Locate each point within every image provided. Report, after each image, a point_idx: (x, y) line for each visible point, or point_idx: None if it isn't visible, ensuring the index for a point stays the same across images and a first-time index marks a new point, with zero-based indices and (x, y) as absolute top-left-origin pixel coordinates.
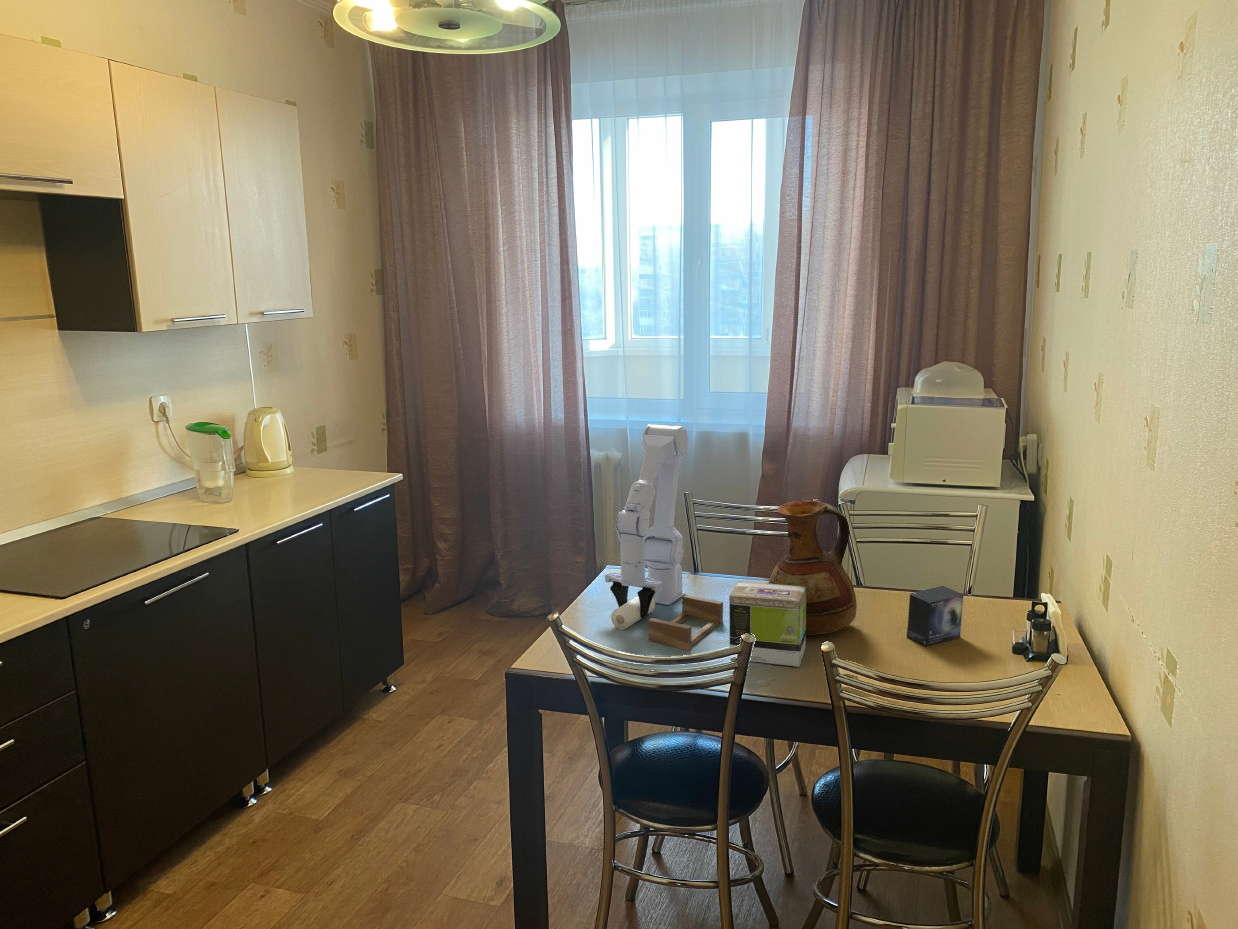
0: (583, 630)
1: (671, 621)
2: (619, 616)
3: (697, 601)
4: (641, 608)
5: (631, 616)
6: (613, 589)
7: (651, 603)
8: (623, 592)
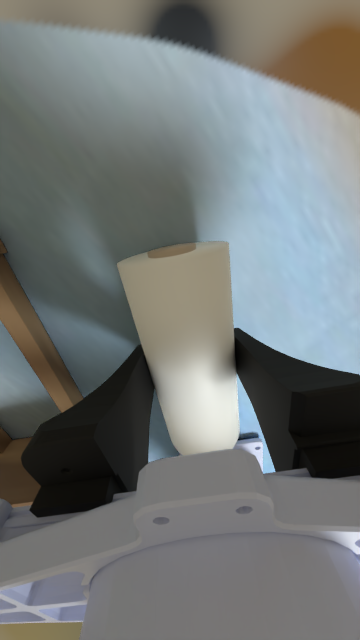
0: (313, 107)
1: (56, 382)
2: (174, 250)
3: (24, 495)
4: (129, 366)
5: (125, 290)
6: (334, 383)
7: (166, 424)
8: (267, 411)
